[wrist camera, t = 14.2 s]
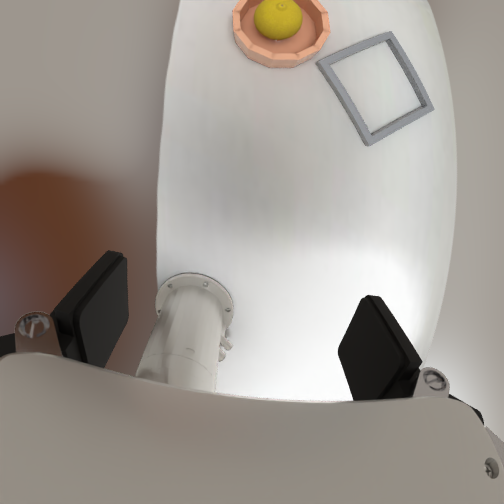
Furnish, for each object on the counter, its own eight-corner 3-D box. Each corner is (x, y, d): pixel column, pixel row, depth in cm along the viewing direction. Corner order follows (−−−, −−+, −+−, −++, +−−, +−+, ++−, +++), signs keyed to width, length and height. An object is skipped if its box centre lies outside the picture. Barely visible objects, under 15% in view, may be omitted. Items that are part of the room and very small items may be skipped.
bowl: (336, 46, 29) (347, 37, 25) (266, 82, 31) (268, 75, 27) (288, -12, 25) (293, -26, 21) (218, 21, 27) (214, 9, 23)
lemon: (296, 48, 28) (309, 28, 21) (252, 46, 28) (254, 25, 21) (296, 14, 26) (307, -12, 19) (253, 11, 26) (254, -15, 19)
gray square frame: (429, 109, 32) (434, 109, 30) (365, 145, 34) (369, 146, 33) (386, 33, 27) (391, 30, 26) (315, 63, 30) (318, 61, 28)
